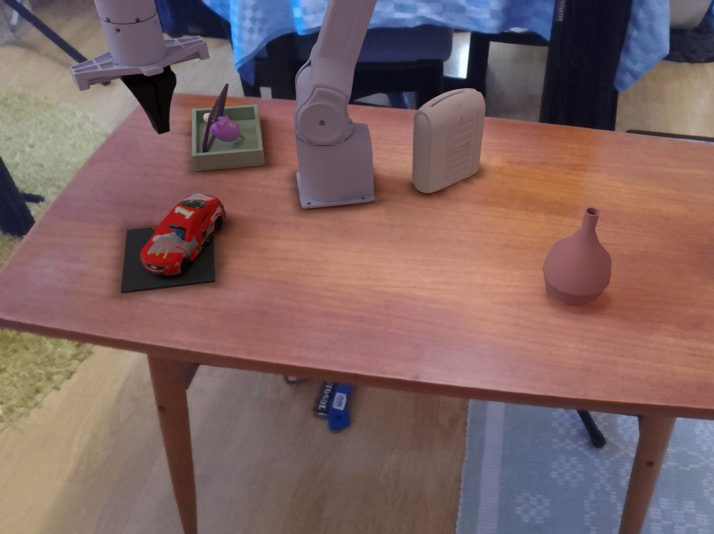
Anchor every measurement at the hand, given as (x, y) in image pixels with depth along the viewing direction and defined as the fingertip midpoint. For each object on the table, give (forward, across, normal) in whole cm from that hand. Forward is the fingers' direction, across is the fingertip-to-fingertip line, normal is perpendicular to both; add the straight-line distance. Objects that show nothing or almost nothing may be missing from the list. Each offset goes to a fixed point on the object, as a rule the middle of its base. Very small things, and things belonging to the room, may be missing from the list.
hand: (161, 129), depth 81 cm
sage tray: (+9, +10, +7) cm, 16 cm away
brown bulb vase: (+10, +29, -43) cm, 53 cm away
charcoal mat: (+9, -6, -11) cm, 15 cm away
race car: (+9, -3, -10) cm, 14 cm away
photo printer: (+10, +31, -16) cm, 36 cm away
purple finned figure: (+9, +10, +8) cm, 16 cm away
